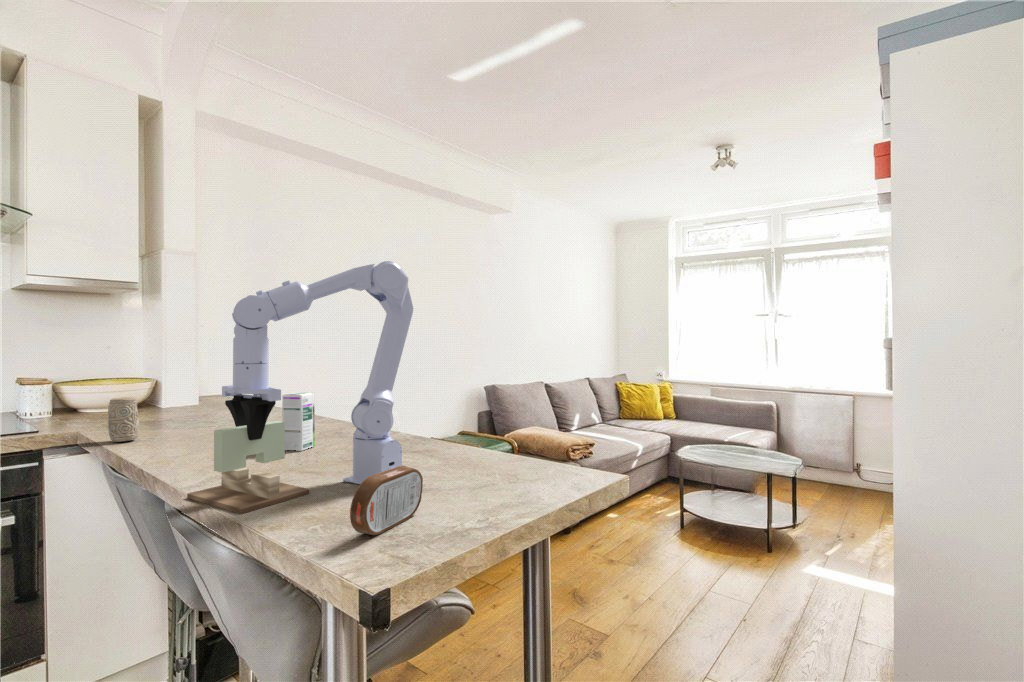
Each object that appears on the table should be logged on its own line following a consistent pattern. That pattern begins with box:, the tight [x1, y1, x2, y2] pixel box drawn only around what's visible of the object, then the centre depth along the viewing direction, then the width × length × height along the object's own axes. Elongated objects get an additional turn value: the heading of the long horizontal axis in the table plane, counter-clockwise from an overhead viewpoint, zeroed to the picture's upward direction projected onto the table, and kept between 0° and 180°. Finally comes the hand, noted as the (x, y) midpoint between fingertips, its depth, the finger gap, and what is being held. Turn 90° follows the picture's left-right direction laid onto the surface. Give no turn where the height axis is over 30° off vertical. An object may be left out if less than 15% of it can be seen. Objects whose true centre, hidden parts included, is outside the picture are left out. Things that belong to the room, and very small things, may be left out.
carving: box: [107, 396, 140, 443], centre depth 139 cm, size 6×8×12 cm
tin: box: [349, 464, 424, 536], centre depth 77 cm, size 15×3×8 cm, turn 156°
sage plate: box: [213, 420, 286, 474], centre depth 91 cm, size 12×2×7 cm, turn 150°
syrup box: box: [281, 391, 316, 452], centre depth 131 cm, size 6×6×14 cm
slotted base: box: [186, 467, 311, 515], centre depth 91 cm, size 16×13×4 cm
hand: (250, 438), depth 91 cm, fingers closed on sage plate, 2 cm apart
